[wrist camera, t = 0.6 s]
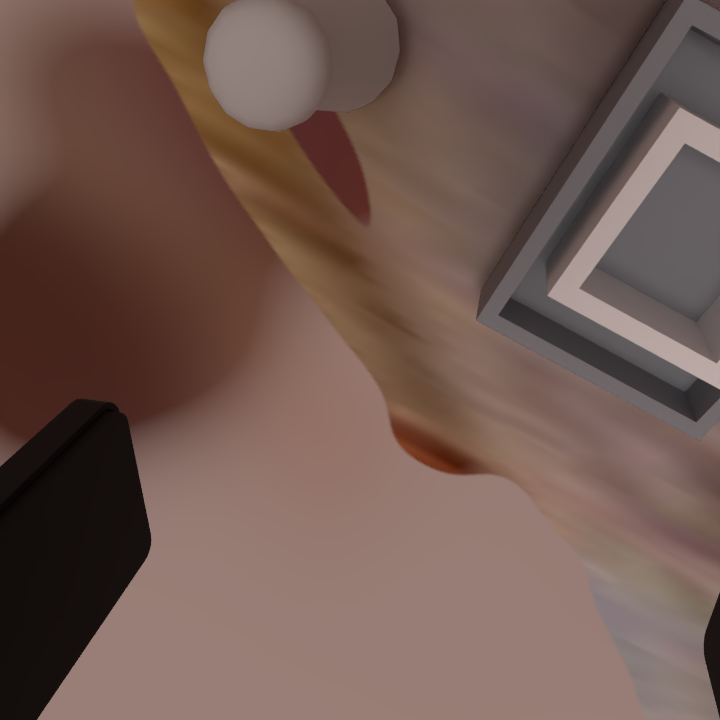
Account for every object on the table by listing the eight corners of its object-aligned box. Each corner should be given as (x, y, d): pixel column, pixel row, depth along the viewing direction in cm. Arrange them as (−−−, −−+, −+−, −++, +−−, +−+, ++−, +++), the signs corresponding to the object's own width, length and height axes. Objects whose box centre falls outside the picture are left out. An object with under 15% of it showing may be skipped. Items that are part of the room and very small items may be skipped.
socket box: (669, -7, 29) (696, -7, 24) (926, 138, 30) (1001, 165, 25) (481, 290, 37) (473, 333, 33) (684, 400, 38) (705, 458, 33)
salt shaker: (345, -57, 31) (241, -84, 20) (433, 38, 32) (380, 61, 21) (270, 45, 34) (141, 71, 23) (352, 129, 35) (268, 193, 24)
